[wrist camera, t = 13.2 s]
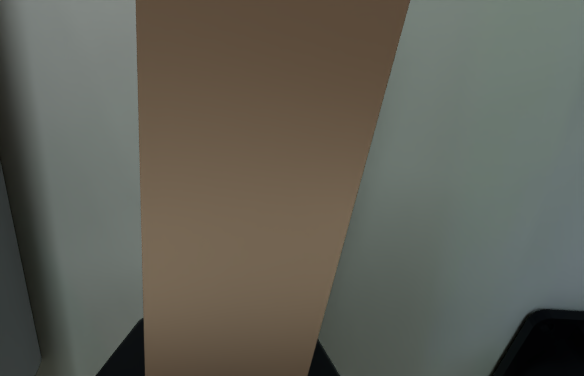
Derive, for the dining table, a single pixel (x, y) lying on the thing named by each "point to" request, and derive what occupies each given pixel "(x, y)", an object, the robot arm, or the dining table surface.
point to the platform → (14, 302)
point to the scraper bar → (251, 171)
